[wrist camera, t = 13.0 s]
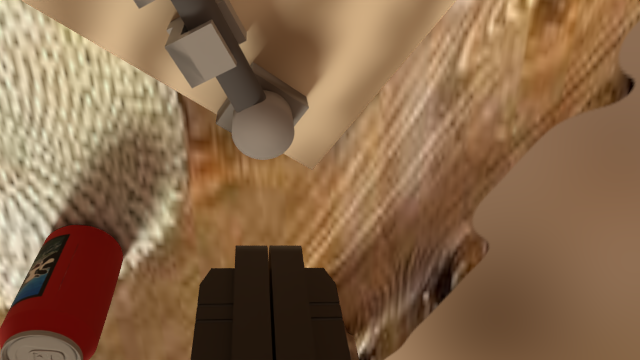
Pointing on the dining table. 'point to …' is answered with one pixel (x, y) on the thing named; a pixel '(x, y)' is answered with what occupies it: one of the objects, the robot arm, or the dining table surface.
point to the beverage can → (63, 297)
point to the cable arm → (244, 91)
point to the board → (274, 53)
